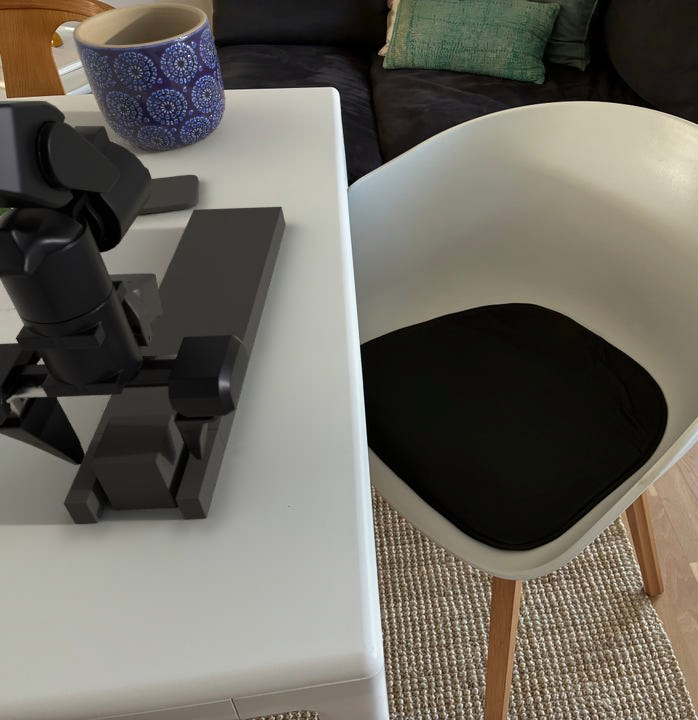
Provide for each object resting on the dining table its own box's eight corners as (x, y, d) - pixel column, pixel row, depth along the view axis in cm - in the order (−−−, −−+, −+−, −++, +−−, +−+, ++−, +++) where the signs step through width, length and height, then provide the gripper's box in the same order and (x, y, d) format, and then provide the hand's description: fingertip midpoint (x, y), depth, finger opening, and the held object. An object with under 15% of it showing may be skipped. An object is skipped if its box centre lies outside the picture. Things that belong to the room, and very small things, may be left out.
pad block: (176, 507, 60) (156, 461, 56) (114, 510, 60) (89, 463, 56) (191, 460, 64) (172, 413, 60) (132, 462, 64) (109, 416, 60)
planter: (219, 160, 102) (189, 45, 92) (93, 163, 102) (49, 49, 92) (245, 106, 114) (221, 0, 105) (132, 109, 114) (97, 3, 104)
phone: (196, 202, 93) (62, 218, 90) (198, 208, 93) (64, 224, 91) (198, 173, 98) (72, 187, 95) (199, 179, 99) (74, 193, 96)
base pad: (207, 518, 59) (198, 498, 58) (74, 524, 59) (62, 503, 57) (285, 225, 90) (281, 206, 89) (199, 228, 90) (193, 209, 88)
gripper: (237, 222, 55) (278, 380, 66) (-28, 231, 55) (56, 389, 65) (202, 320, 47) (256, 484, 58) (-110, 332, 47) (1, 495, 57)
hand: (141, 457), depth 60 cm, fingers open, 9 cm apart
